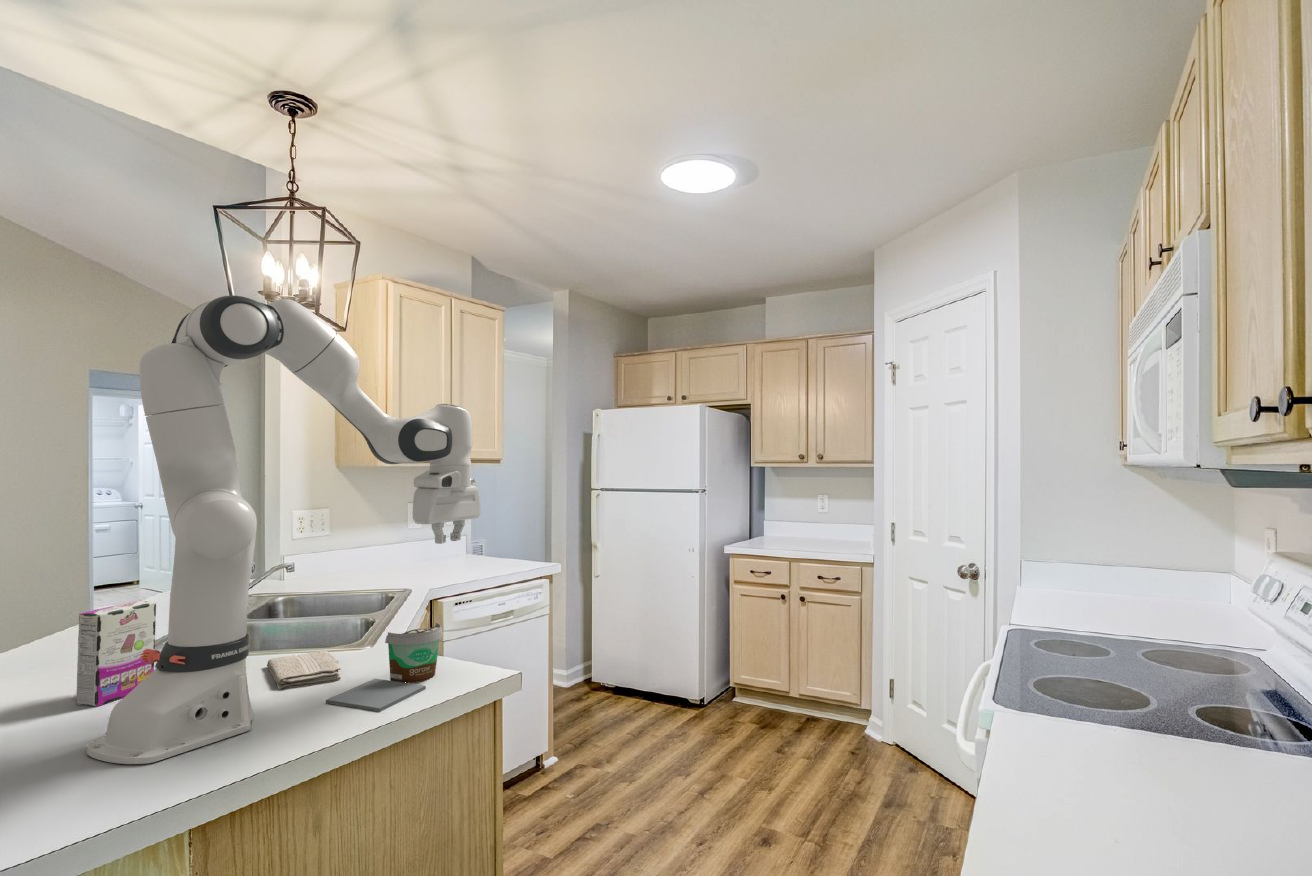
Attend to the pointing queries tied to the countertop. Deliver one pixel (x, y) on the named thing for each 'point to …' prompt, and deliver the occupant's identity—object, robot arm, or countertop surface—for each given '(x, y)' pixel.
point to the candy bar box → (114, 651)
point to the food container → (413, 654)
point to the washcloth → (304, 669)
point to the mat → (376, 694)
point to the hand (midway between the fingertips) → (448, 542)
